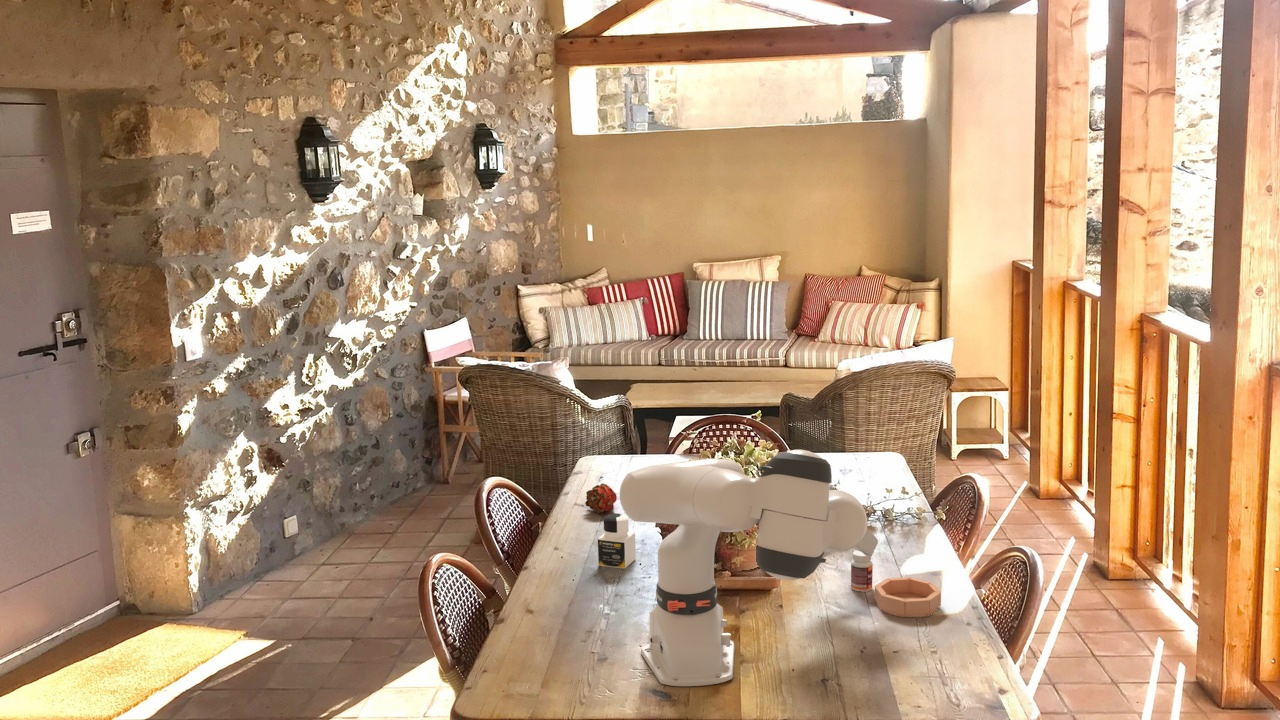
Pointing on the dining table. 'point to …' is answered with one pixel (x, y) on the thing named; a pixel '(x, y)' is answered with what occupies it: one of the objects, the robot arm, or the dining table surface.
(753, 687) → the dining table surface
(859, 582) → the pill bottle
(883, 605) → the bowl
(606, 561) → the medicine bottle
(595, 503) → the dragon fruit
